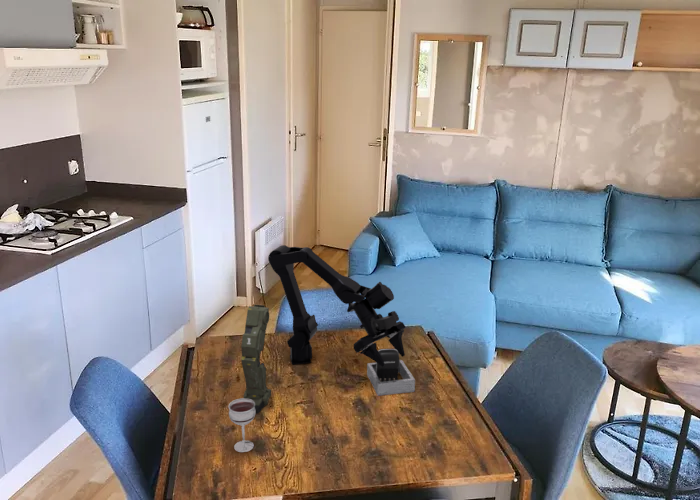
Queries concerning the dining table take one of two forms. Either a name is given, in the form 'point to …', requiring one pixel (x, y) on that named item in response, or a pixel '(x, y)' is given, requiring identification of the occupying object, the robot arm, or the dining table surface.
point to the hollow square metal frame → (391, 386)
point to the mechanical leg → (255, 356)
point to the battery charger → (388, 365)
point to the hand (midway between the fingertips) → (393, 360)
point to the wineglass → (242, 419)
